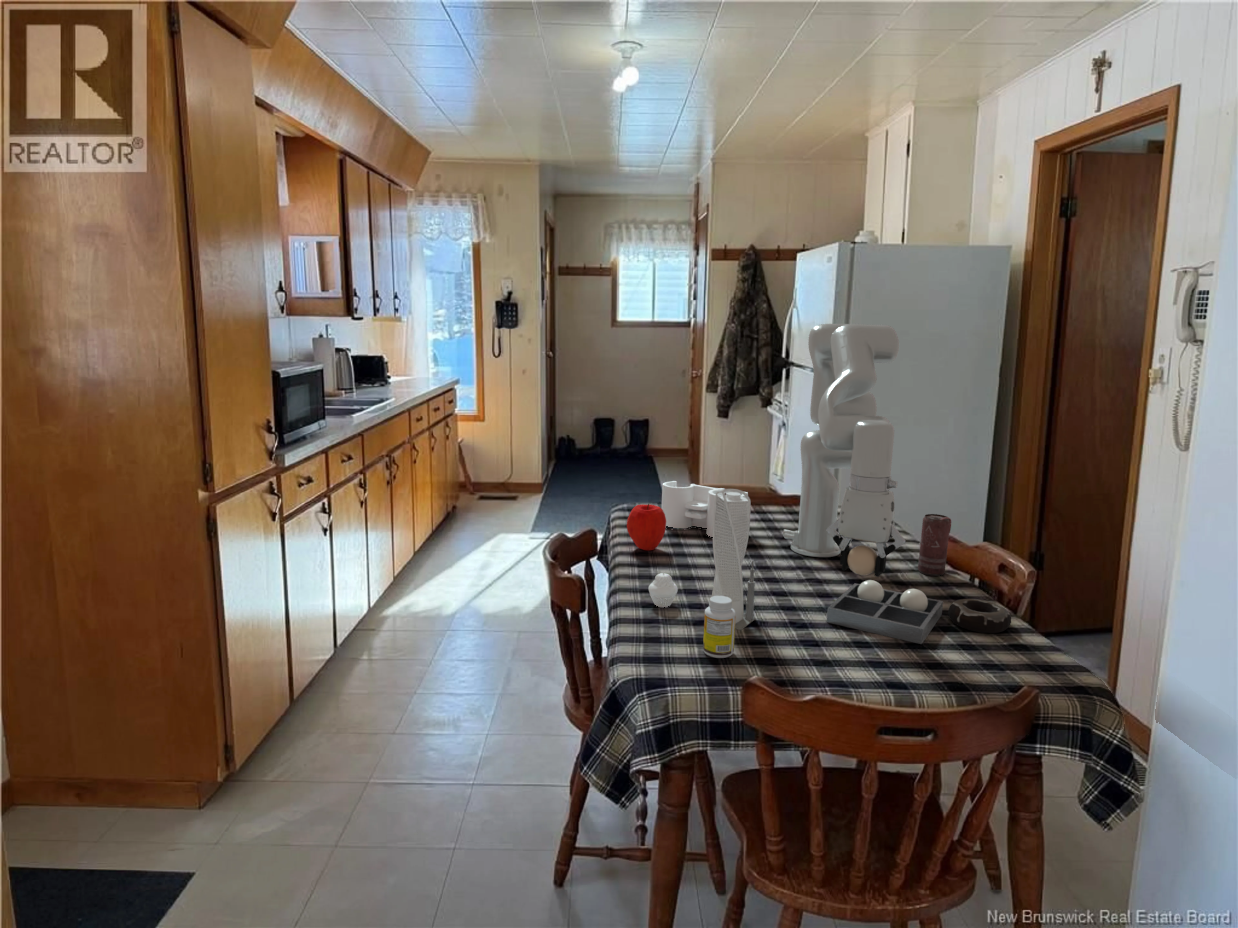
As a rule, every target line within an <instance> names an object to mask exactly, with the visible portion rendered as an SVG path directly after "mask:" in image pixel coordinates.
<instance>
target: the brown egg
mask: <svg viewBox="0 0 1238 928" xmlns="http://www.w3.org/2000/svg"><path fill="white" fill-rule="evenodd" d="M850 549H851V551H850V552H849V554H848V557H847V562H848V566H849V568H848V569H850V571H852V573H854V574H856V575H859V576H868V575H871V574H873V573H875V566H876V557H878V553H877V551H876V550H875V549H874V548H873V547H872V546H870V545H866V544H865V545H864V544H860V545H857V546H856V545H855V546H854V547H852V548H850Z"/></svg>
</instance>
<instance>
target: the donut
mask: <svg viewBox="0 0 1238 928" xmlns="http://www.w3.org/2000/svg"><path fill="white" fill-rule="evenodd" d="M947 614H948V618H949V619H950V620H951V622H952V623H954V624H955V625H956V626H958V627H960V628H962V629H965V630H968V631H971V632H974V633H975V632H976V633H981V634H997V633H1001V632H1004V631H1005V630H1007V629H1008V628H1009V627H1010V626H1011V624H1012V616H1011V614H1010V612H1009V611H1008V610H1007V609H1006V608H1005V607H1003V606H1002V605H999V604H998V603H995V602H991V601H990V600H984V599H977V598H961V599H957V600H955V601H953V602H952V603H951V604H950V605H949V607H948V610H947Z"/></svg>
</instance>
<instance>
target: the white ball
mask: <svg viewBox="0 0 1238 928" xmlns="http://www.w3.org/2000/svg"><path fill="white" fill-rule="evenodd" d="M902 593H903V594H902V595H901V598H900V605H901V607H904V608H908V609H913V610H918V611H922V612H924V611H925V610H926V608H927V606H928V600H927V598H928V597H927V595H926V594H925V593H924V591H922V590H920V589H918V588H908V589H906V590H905V591H904V592H902Z"/></svg>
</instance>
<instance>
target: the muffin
mask: <svg viewBox="0 0 1238 928" xmlns="http://www.w3.org/2000/svg"><path fill="white" fill-rule="evenodd" d="M678 590H679V589H678V585H677V584H676V583H675V582H674V580H673V577H672V576H671V575H670V574H668V573H663V572H661V573H658V574H656V575H655V577H654V580H653V581H652V582H651V583H649V585H648V592H649V596H650V597H651V600H652V602H653V604H654V606H655V605H656V607H657V606H658V608H664V607H665V608H669V607H671V605H672V603H673V601H674V600H675V598H676V596H677V594H678ZM668 606H669V607H668Z"/></svg>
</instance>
